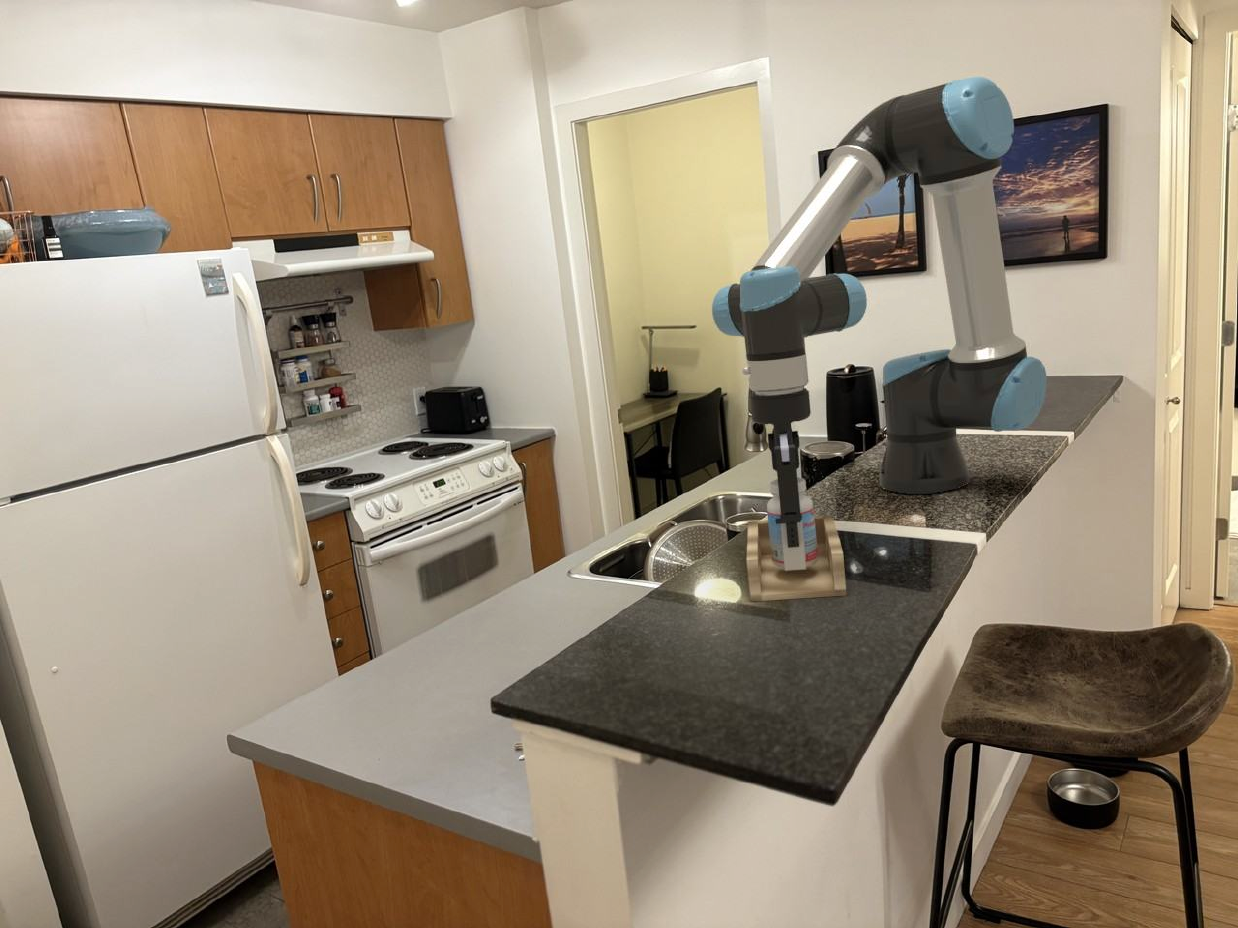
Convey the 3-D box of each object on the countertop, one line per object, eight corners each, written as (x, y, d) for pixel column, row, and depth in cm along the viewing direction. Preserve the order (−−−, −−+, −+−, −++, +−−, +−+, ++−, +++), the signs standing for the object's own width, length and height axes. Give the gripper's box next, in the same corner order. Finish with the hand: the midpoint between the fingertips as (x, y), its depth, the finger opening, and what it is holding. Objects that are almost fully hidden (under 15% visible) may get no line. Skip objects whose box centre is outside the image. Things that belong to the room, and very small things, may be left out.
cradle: (751, 558, 135) (748, 521, 134) (835, 552, 133) (832, 514, 132) (750, 601, 118) (746, 559, 117) (846, 595, 116) (843, 552, 115)
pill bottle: (818, 568, 120) (811, 485, 117) (771, 571, 121) (763, 489, 119) (818, 553, 126) (811, 474, 123) (773, 556, 127) (765, 477, 125)
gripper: (750, 383, 129) (765, 541, 133) (748, 404, 110) (766, 587, 115) (805, 377, 127) (818, 537, 132) (812, 397, 109) (828, 583, 113)
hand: (794, 560), depth 123 cm, fingers closed on pill bottle, 6 cm apart
